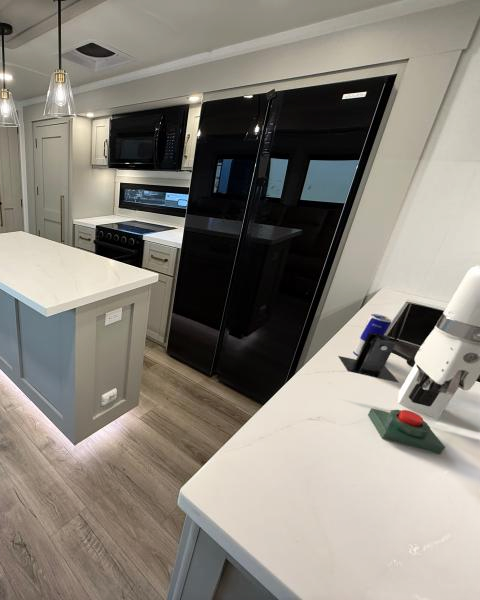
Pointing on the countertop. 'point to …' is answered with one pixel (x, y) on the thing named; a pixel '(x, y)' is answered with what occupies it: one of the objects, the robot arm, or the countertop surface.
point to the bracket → (372, 358)
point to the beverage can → (373, 329)
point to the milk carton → (432, 410)
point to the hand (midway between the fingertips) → (418, 402)
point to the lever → (400, 354)
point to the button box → (405, 431)
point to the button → (410, 418)
